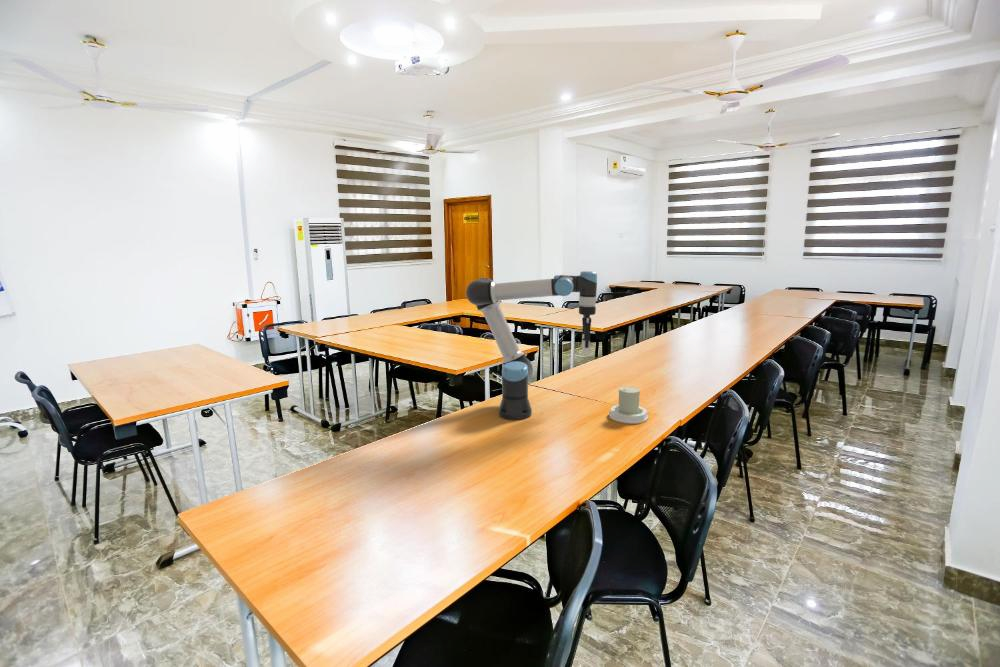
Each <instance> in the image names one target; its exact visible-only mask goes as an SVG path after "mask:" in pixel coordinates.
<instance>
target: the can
mask: <svg viewBox="0 0 1000 667" xmlns="http://www.w3.org/2000/svg"><path fill="white" fill-rule="evenodd" d="M640 392H641V390H640V389H639V388H638V387H633V386H621V387H619V388H618V405H619V407H618V412H619V413H622V414H626V415H636V414H639V406H640Z"/></svg>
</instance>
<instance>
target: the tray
mask: <svg viewBox="0 0 1000 667" xmlns="http://www.w3.org/2000/svg"><path fill="white" fill-rule="evenodd" d="M618 407H619V404H614V405H613V406H611V407H610V411H609V412H608V416H609V419H611V420H613V421H615V422H617V423H620V424H621V423H622V424H629V425H633V424H634V425H636V424H638V425H639V424H643V423H645V422H647V421H648V420H649V414H648V411H647V409H646V408H644V407H642V406H640V405H639V414H636V415H626V414H622V413H619V412H618Z"/></svg>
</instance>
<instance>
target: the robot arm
mask: <svg viewBox="0 0 1000 667" xmlns="http://www.w3.org/2000/svg"><path fill="white" fill-rule="evenodd" d="M466 286H467V287H466V290H465V296H466V299H467V300H468V301H469V303H471V304H472V305H474V306H476V308H477V311H478V312H481V313H483V316H484V318H485V320H486V323H487V326H488V327H489V329H490V331H491V333H492V336H493V338H494V340H495V342H496V345H497V347H498V349H499V352H500V353H501V355H502V358H503V359H502V360H501V361H502V362H501V363H502V365H503V366H502V369H501V376H502V377H501V382H502V383H501V384H502V385H501V388H502V390H501V391H502V393H501V394H502V398H501V401H500V405H499V408H498V415H499V417H501V418H503V419H506V420H514V421H515V420H523V419H527V418H530V417H531V416H532V413H533V411H532V407H531V403H530V400H529V381H530V380H531V378H532V375H533V370H534V369H533V364H532V362H531V361H530V360H529V359H528V358H527V355H526V354H525V352H524V351H523V350H522V351H521V350H520V348H519V346H518V343H517V341H516V340H515V336H514V335H513V332H512V330H511V328H510V326H509V323H508V321H507V319H506V317H505V315H504V313H503V310H502V308H501V306H500V303H501V301H507V300H521V299H531V298H533V299H535V298H542V297H543V298H545V297H556V296H558V297H559V296H561V297H567V296H569V295H571V293H579V296H578V297H579V298H578V305H579V306H578V313H579V315H581V316H583V317H582V320H581V321H582V322H581V323H582V328H581V331H582V332H581V333H582V335H581V349H583V351H582V354H583V355H587V356H588V355H590V350H591V349H590V347H591V346H590V345H591V326H592V317H591V316H594V315H595V314H596V313H597V310H596V309H597V308H596V304H597V301H598V298H597V288H598V287H597V286H598V274H597V272H596V271H591V270H590V271H589V270H587V271H586V270H583V271H581V272H580V273H579V275H566V274H565V275H564V274H561V275H560V274H558V275H557V274H556V275H554V276H553V278H546V279H535V280H522V281H511V282H500V283H499V282H494V280H492V279H491V278H488V277H480V278H477V279H475V280H473V281H470V282H469V284H467V285H466Z"/></svg>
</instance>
